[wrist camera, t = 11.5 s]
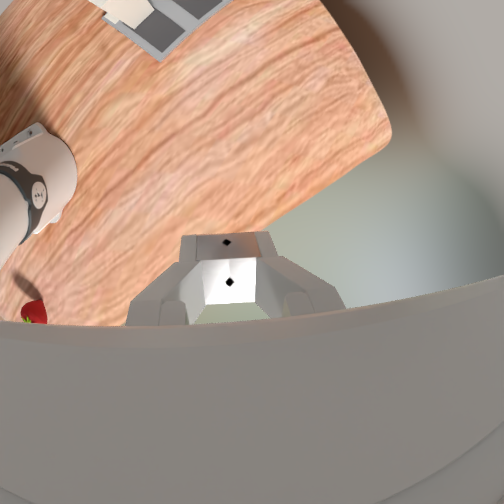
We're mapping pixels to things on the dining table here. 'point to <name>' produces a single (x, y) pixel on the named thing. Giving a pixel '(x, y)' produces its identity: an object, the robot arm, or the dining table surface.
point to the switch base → (168, 24)
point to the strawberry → (34, 312)
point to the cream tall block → (126, 10)
